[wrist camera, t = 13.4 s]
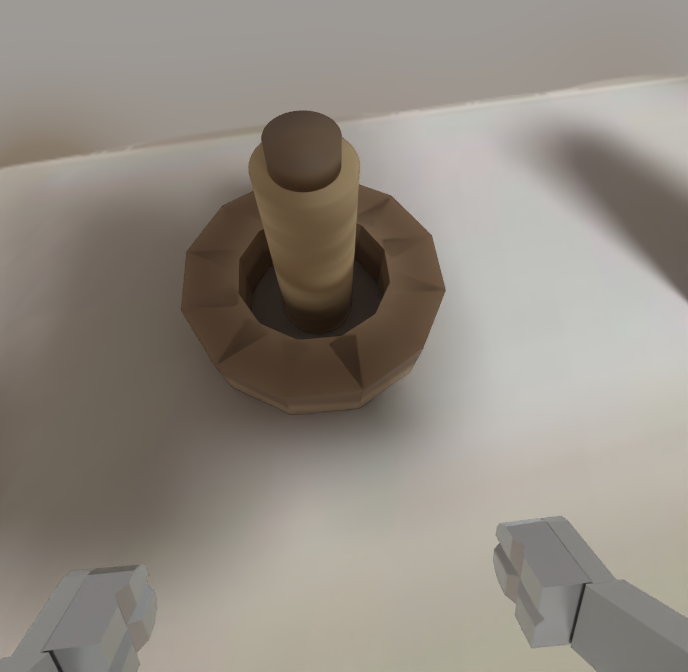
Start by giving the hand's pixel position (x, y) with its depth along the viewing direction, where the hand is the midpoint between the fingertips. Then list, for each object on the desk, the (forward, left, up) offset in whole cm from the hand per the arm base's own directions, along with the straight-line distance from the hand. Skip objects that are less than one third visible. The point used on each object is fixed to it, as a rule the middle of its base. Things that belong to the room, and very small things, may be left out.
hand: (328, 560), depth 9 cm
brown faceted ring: (0, -11, -8) cm, 14 cm away
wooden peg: (0, -11, -8) cm, 14 cm away
